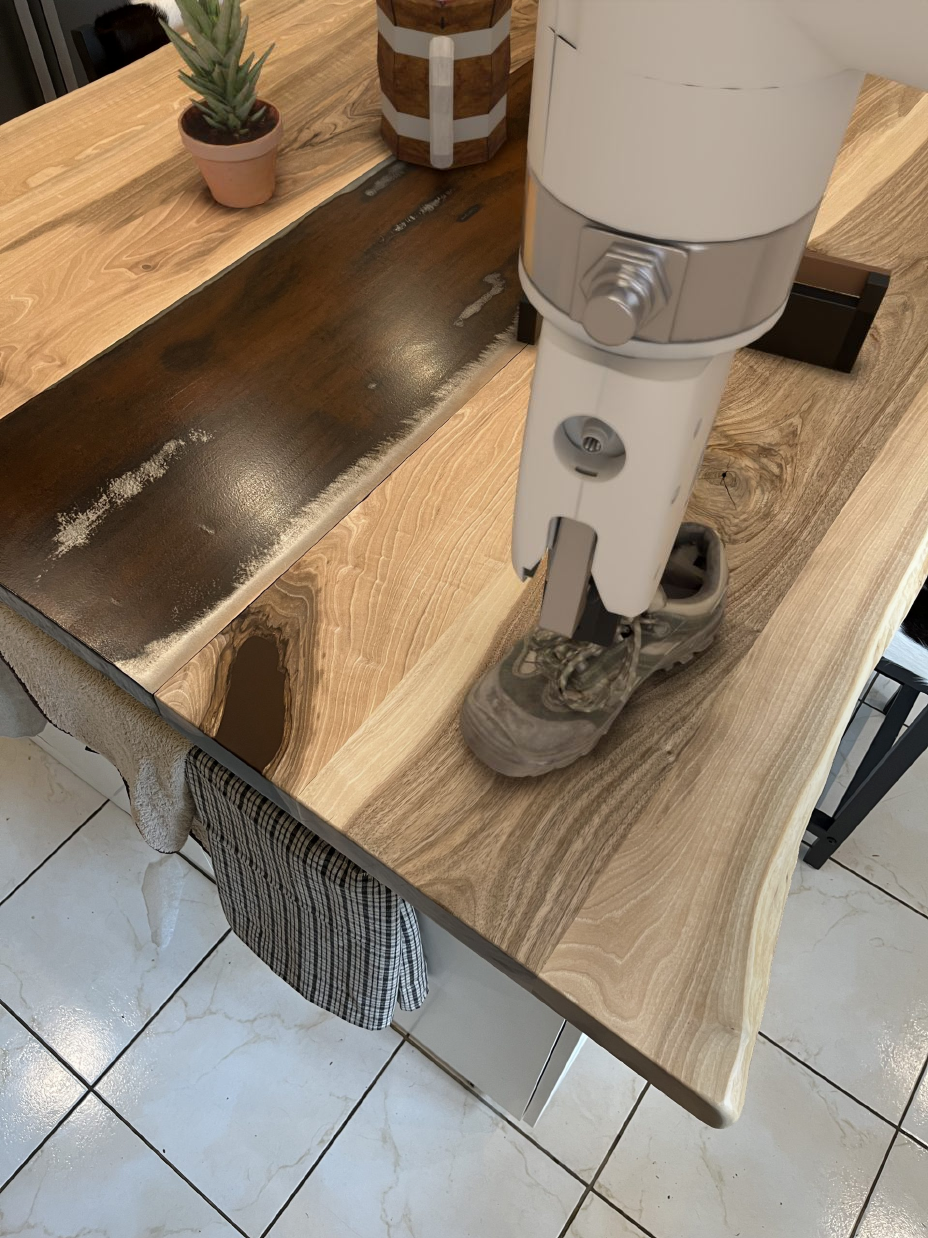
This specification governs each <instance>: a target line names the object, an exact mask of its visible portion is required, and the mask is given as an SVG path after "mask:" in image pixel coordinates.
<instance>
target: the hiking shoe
mask: <svg viewBox="0 0 928 1238" xmlns="http://www.w3.org/2000/svg"><path fill="white" fill-rule="evenodd" d="M726 546H727V544H726V542H725V541H724V538H723V537H722V535H721V534H720V533H719V532H718V531H716V530H715V529H714V528H713V527H712V526H710V525H707V524H705V523H701V522H696V521H691V520H683V521H682V522H681V525H680V528H679V531H678V533H677V536H676V539H675V542H674V544H673V547H672V550H671V553H670V555H669V558H668V561H667V564H666V566H665V569H664V572H663V574H662V577H661V580H660V582H659V585H658V588H657V590H656V593H655V595H654V598H653V600H652V602H651V604H650V606H649V607H648V609H647V610H645V611H644V612H642V613H641V614H639V615H637V616H635V617H632V618H631V617H626V616H624V615H623V616H622V619H621V621H620V624H619V625H618V627H617V631H616V635H615V637H614V640H613V643H612V645H611V646H610V647H602V646H599V645H596V644H593V643H590V642H587V641H586V642H579V641H575V640H572V639H569V638H566V637H564V636H561V635H558V634H555V633H553V632H550V631H547V630H544V629H541V628H538V623H537V624H536V625H534V626H533V627H532V628H531V629H530V630H529V631H528V632H526V633H525V634H523V636H522V637H520V638H519V639H518V640H517V641H516V642H515V643H514V644H513V645H511V648H510V650H509V651H508V652H507V653H506V654H505V655H503V657H502V658H500V659H499V660H498V661H497V662H496V663H495V664H493V665H492V666H491V667H490V668H489V669H487V670H486V671H485V672H484V673H483V674H482V675H481V676H480V677H479V678H478V679H477V681H476V682H475V683H473V685H471V687H470V688H469V689H468V692H467V693H466V695H465V696H464V698H463V702H462V705H461V707H460V712H459V721H458V726H459V729H460V731H461V734H462V737H463V740H464V742H465V743H466V744H467V745H468V747H469V748H470V749H471V751H472V752H473V753H474V755H475V756H476V757H477V758H478V759H479V760H480V761H482V762H483V764H485V765H487V767H489V768H490V769H491V770H494V771H496V772H498V773H500V774H503V775H505V776H507V777H515V778H517V777H518V778H525V777H527V776H530V777H536V776H540V775H543V774H547V773H549V772H551V771H553V770H554V769H558V770H559V769H562V768H565V767H567V766H570V765H571V764H572V763H574V762H576V761H577V760H578V759H579V758H580V757H581V756H587V755H588V754H589V753H590V752H591V751H592V750H593V749H594V748H595V747H596V746H597V744H598V742H599V741H600V739H601V738H602V736H603V735H606V734H607V733H608V731H609V730H610V729H611V726H612V725H613V722H614V721H615V720H616V719H617V717H618V716H619V714H620V712H621V711H622V709H623V708H624V707H625V705H626V703H627V702H628V701H629V699H630V698H631V697H632V695H633V693H634V692H635V691H636V690H637V688H639V686H640V685H641V684H642V683H643V682H645V681H646V680H647V679H648V678H649V677H650V676H651V675H652V674H653V673H655V672H656V671H659V670H662V669H663V670H664V671H665V672H668V671H670V670H672V669H673V667H674V664H675V663H678V662H679V663H681V664H682V665H684V664H686V663H687V662H689V661H690V660H692V659H693V658H694V653H695V652H698V653H701V652H702V651H705V650H706V649H707V648H708V647H710V645H711V644H712V643H713V642H714V636H715V635H716V634H718V633H719V632H720V630H721V628H722V626H723V624H724V620H725V614H726V613H725V611H726V605H727V601H728V594H729V593H728V587H729V584H730V583H731V578H730V566H729V562H728V559H727V556H726V552H725V549H726Z"/></svg>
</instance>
